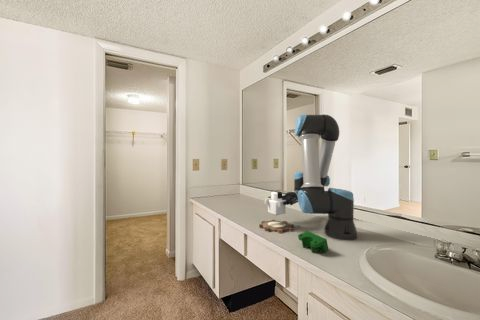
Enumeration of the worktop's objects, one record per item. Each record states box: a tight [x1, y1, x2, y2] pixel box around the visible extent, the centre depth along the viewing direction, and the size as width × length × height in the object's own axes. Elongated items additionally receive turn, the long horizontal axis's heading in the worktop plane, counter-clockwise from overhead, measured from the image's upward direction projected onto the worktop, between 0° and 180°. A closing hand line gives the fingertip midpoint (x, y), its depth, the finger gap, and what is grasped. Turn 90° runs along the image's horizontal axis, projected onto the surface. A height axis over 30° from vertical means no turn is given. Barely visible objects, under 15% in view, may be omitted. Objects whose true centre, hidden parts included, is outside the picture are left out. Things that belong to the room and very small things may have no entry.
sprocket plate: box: [258, 219, 295, 234], centre depth 118 cm, size 19×19×2 cm
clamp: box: [297, 230, 329, 254], centre depth 88 cm, size 12×6×9 cm, turn 20°
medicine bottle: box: [267, 191, 286, 216], centre depth 118 cm, size 7×7×12 cm
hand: (271, 202), depth 115 cm, fingers closed on medicine bottle, 9 cm apart
